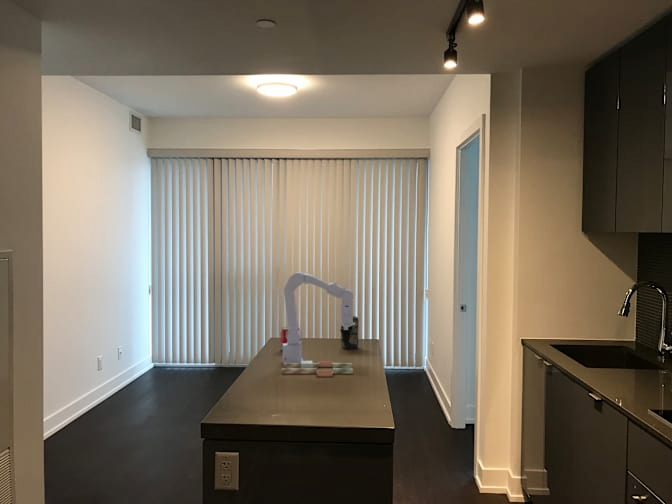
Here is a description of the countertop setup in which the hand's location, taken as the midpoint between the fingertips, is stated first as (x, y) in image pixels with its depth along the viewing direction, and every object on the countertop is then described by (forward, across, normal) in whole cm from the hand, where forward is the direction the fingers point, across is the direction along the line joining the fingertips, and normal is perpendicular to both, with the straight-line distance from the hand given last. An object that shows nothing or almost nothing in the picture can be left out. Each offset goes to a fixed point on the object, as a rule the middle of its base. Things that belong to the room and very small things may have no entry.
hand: (346, 341), depth 241 cm
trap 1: (+10, -8, +10) cm, 16 cm away
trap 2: (+10, -23, +8) cm, 27 cm away
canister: (+10, +31, 0) cm, 33 cm away
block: (+10, -16, +17) cm, 26 cm away
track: (+10, -16, +12) cm, 22 cm away
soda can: (+10, +22, +34) cm, 42 cm away
